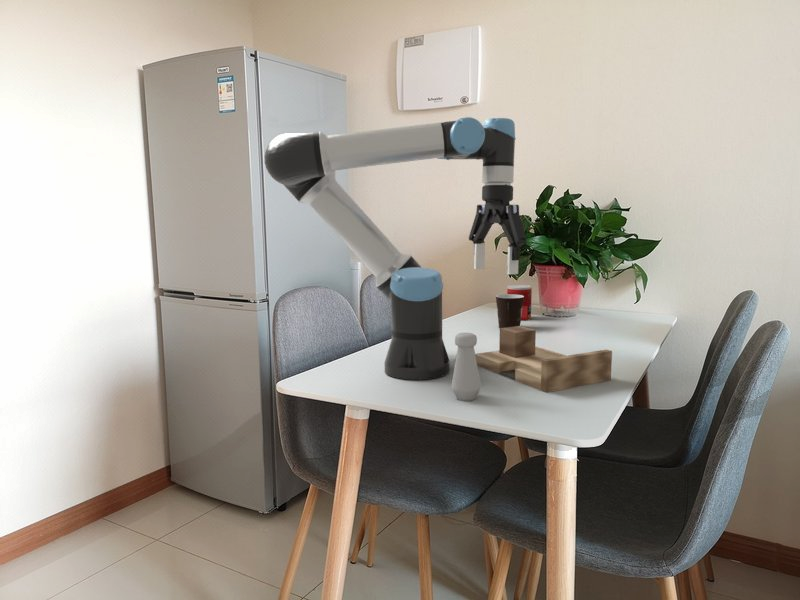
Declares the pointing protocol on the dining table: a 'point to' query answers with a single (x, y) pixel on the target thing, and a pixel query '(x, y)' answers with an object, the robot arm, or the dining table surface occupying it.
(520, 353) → the walnut block
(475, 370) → the salt shaker
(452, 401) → the dining table surface
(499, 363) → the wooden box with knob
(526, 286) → the canned food
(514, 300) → the coffee mug
